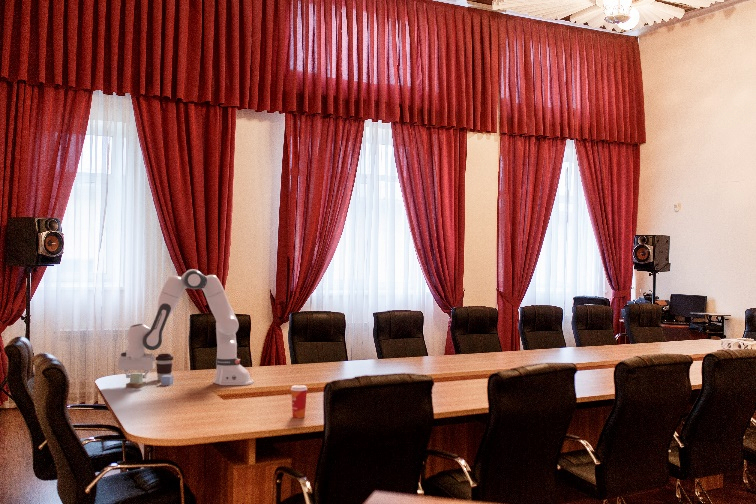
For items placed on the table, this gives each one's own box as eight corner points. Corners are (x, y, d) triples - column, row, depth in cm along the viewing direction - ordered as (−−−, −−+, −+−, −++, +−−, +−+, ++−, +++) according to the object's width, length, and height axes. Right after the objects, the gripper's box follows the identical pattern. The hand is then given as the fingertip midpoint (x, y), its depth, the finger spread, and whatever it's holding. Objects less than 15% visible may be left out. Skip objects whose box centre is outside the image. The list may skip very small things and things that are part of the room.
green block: (142, 381, 388) (142, 373, 388) (138, 383, 383) (138, 374, 383) (133, 381, 388) (133, 372, 388) (130, 383, 383) (130, 374, 383)
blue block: (172, 384, 394) (173, 375, 394) (169, 385, 389) (169, 376, 389) (164, 383, 394) (164, 375, 394) (161, 385, 389) (161, 376, 389)
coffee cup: (167, 381, 400) (168, 355, 400) (151, 380, 402) (152, 355, 402) (175, 378, 410) (176, 353, 410) (160, 378, 412) (161, 352, 412)
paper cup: (290, 414, 323) (291, 384, 323) (307, 414, 324) (307, 384, 324) (289, 418, 315) (290, 388, 315) (306, 418, 316) (307, 388, 316)
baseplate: (145, 385, 389) (145, 381, 389) (140, 387, 381) (140, 384, 381) (132, 384, 390) (132, 381, 390) (125, 387, 382) (126, 383, 382)
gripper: (157, 352, 388) (156, 377, 388) (121, 352, 389) (121, 376, 389) (152, 354, 382) (152, 379, 382) (116, 353, 383) (116, 378, 383)
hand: (136, 378), depth 386 cm, fingers open, 8 cm apart
